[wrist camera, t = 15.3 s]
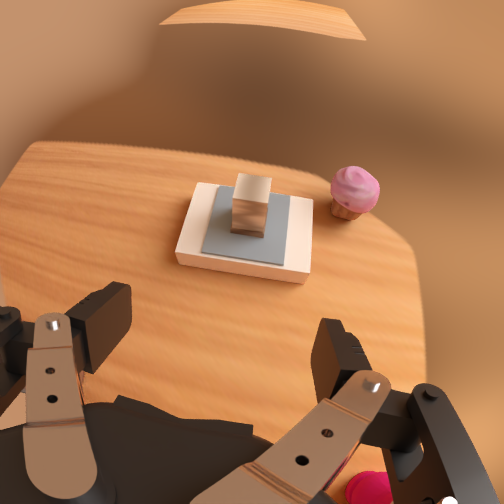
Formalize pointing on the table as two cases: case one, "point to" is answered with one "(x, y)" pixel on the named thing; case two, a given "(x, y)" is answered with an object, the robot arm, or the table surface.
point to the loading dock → (247, 247)
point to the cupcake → (353, 192)
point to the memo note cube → (250, 205)
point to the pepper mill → (369, 489)
